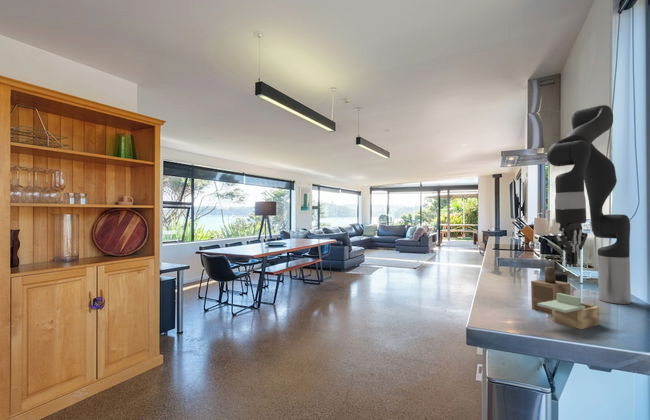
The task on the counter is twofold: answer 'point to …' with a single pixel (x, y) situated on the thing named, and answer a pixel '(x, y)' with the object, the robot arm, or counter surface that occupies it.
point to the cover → (547, 290)
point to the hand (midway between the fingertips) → (571, 264)
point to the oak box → (578, 317)
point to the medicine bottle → (563, 279)
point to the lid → (563, 303)
